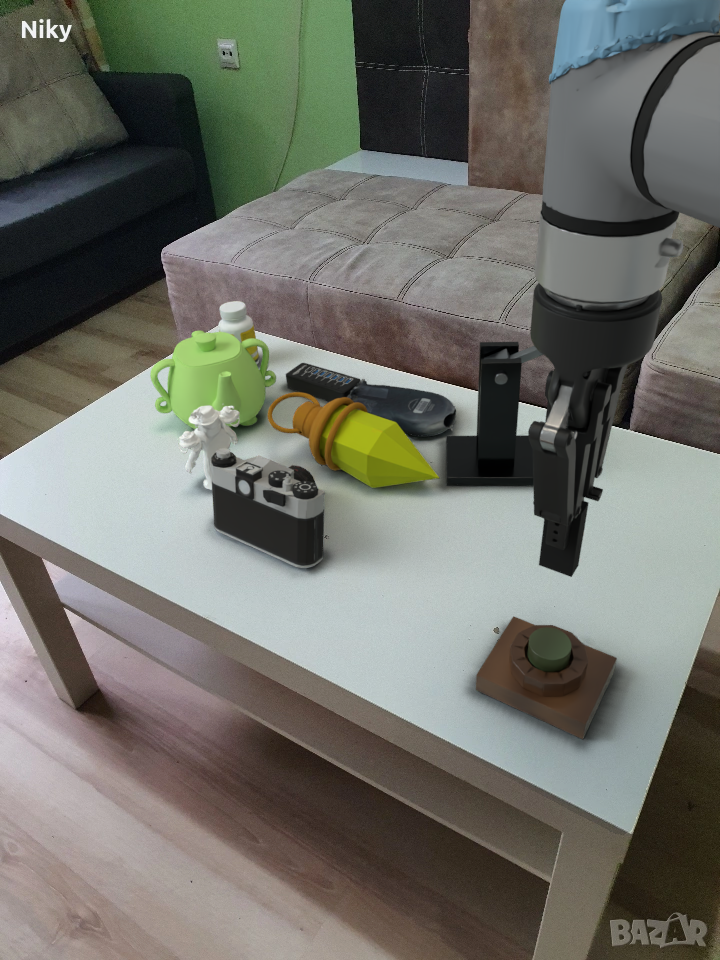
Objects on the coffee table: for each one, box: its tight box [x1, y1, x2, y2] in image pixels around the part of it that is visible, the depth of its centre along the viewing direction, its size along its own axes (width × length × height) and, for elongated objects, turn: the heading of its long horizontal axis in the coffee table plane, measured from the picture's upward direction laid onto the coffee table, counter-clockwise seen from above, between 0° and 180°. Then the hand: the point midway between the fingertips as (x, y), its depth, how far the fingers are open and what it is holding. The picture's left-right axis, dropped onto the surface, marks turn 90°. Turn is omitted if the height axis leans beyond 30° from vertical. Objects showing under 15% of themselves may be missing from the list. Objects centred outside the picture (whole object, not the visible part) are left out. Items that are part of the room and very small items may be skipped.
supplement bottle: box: [217, 300, 260, 365], centre depth 117 cm, size 5×5×10 cm
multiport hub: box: [285, 362, 362, 402], centre depth 111 cm, size 4×11×2 cm, turn 56°
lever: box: [484, 345, 545, 364], centre depth 84 cm, size 14×4×4 cm, turn 85°
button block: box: [475, 616, 618, 740], centre depth 67 cm, size 10×8×4 cm
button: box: [528, 627, 571, 672], centre depth 66 cm, size 4×4×2 cm
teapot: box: [149, 330, 277, 430], centre depth 104 cm, size 16×14×13 cm
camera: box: [210, 448, 326, 569], centre depth 85 cm, size 15×11×10 cm
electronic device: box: [347, 378, 457, 438], centre depth 104 cm, size 9×6×15 cm
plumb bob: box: [267, 391, 440, 489], centre depth 94 cm, size 9×9×25 cm
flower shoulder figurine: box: [177, 403, 240, 491], centre depth 92 cm, size 9×4×12 cm, turn 142°
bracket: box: [445, 341, 534, 487], centre depth 90 cm, size 12×9×16 cm
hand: (558, 565), depth 60 cm, fingers closed
